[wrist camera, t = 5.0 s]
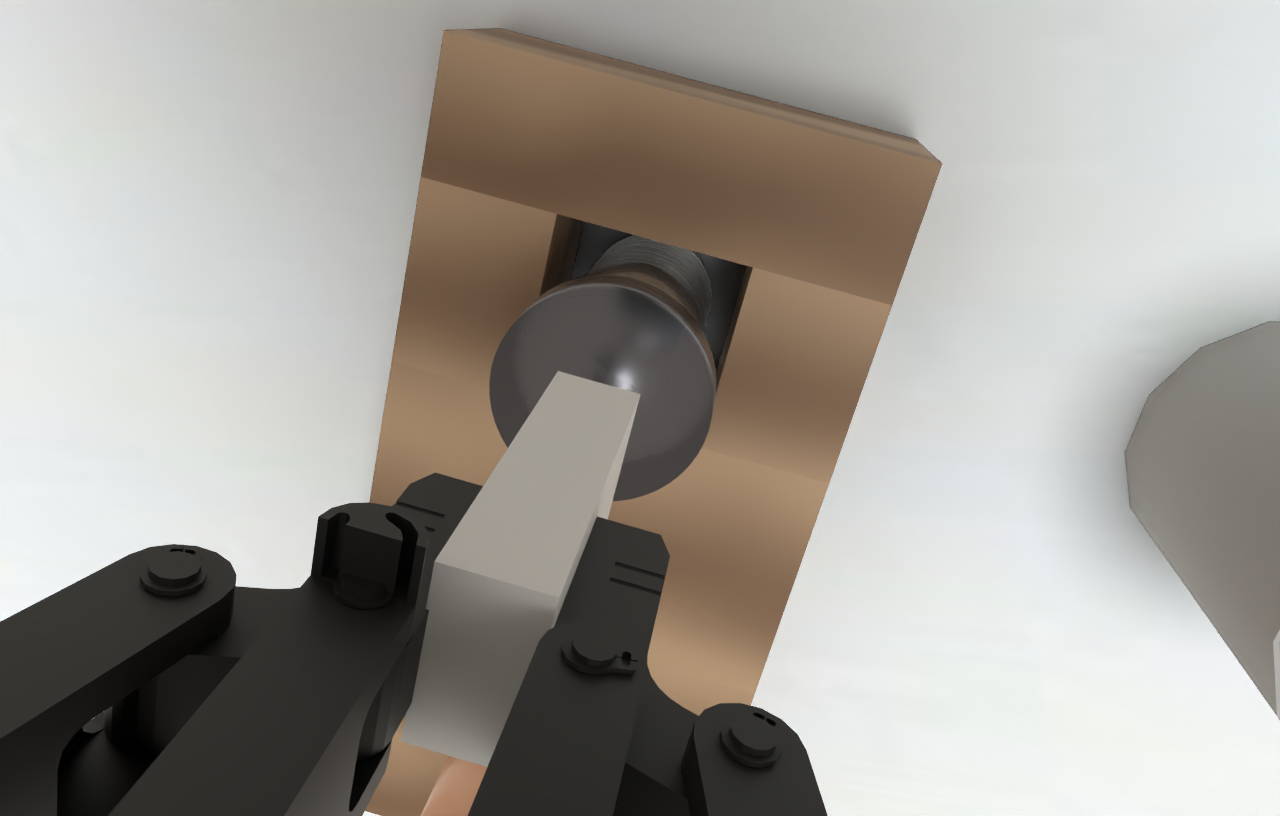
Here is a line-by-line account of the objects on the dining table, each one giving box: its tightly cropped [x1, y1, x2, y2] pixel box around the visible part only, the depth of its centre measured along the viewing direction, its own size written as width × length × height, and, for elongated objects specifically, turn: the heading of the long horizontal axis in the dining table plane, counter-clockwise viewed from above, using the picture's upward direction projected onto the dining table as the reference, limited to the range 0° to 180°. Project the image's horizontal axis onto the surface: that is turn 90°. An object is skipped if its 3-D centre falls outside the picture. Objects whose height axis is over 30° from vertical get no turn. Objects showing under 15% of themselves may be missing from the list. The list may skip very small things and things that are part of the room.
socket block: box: [365, 28, 942, 816], centre depth 30 cm, size 24×12×5 cm, turn 166°
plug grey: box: [489, 235, 717, 501], centre depth 25 cm, size 5×5×9 cm
